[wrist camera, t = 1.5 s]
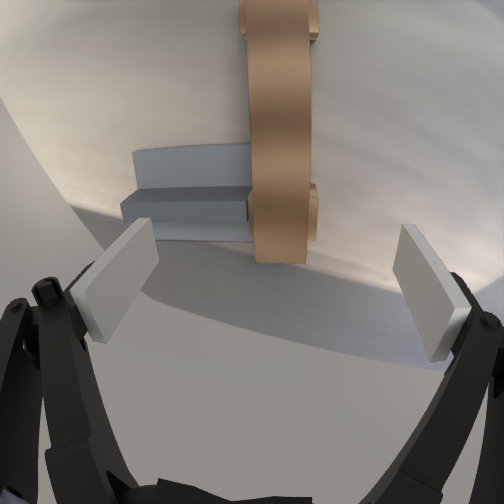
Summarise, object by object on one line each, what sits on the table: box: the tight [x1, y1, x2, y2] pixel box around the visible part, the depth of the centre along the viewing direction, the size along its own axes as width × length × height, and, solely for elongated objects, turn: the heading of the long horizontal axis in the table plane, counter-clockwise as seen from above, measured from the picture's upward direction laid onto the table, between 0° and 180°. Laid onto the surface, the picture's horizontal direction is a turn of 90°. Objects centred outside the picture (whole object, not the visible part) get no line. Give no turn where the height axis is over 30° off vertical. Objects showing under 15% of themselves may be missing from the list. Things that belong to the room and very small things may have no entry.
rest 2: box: [248, 184, 318, 241], centre depth 28 cm, size 4×6×4 cm, turn 92°
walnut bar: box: [245, 0, 311, 264], centre depth 20 cm, size 22×4×4 cm, turn 2°
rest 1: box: [239, 0, 319, 40], centre depth 19 cm, size 4×6×4 cm, turn 92°
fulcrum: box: [120, 143, 255, 242], centre depth 28 cm, size 10×12×5 cm
